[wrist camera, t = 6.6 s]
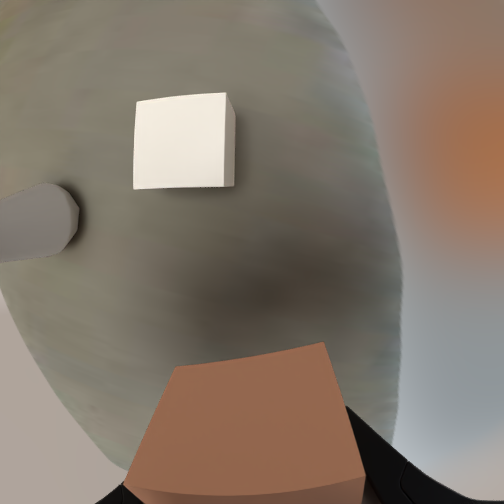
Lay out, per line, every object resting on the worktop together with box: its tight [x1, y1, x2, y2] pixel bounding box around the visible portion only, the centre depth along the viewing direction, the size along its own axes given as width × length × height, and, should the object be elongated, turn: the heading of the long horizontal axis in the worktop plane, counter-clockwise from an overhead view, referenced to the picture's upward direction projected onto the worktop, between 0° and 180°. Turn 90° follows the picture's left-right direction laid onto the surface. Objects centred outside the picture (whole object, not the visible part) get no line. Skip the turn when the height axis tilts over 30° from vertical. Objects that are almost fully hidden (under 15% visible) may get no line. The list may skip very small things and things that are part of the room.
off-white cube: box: [133, 93, 236, 189], centre depth 16 cm, size 5×5×5 cm
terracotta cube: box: [123, 342, 366, 504], centre depth 7 cm, size 5×5×5 cm
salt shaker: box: [0, 183, 79, 263], centre depth 13 cm, size 6×6×13 cm
